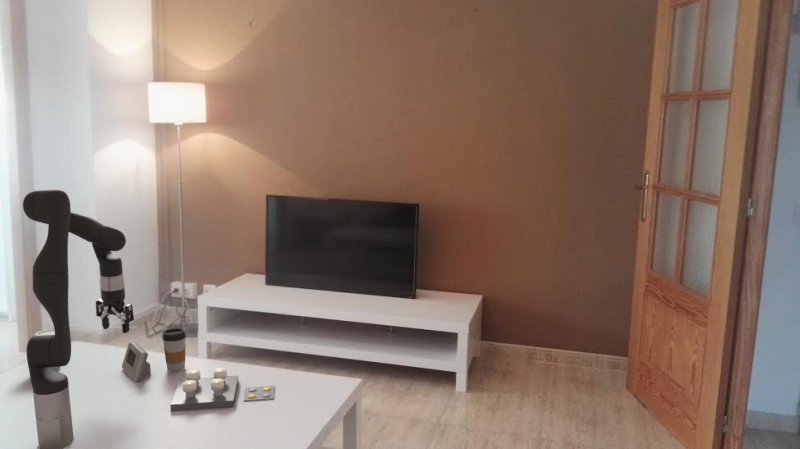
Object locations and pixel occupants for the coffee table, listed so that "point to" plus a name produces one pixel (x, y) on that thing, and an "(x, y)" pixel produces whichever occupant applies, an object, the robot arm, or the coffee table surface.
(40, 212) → the robot arm
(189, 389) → the button
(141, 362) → the digital clock
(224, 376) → the button
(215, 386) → the button
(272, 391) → the card
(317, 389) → the coffee table surface
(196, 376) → the button
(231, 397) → the board
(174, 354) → the coffee cup
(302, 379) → the coffee table surface
